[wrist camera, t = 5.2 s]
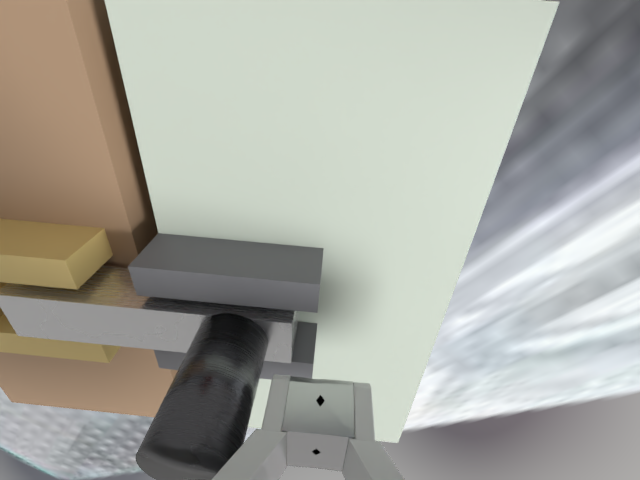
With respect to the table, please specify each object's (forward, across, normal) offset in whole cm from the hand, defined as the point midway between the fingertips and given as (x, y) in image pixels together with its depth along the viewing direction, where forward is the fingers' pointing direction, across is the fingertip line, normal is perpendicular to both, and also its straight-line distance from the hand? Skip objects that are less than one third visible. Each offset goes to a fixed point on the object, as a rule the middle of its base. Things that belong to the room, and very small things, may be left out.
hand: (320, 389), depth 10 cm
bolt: (+3, +6, 0) cm, 7 cm away
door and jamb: (+8, +7, 0) cm, 11 cm away
